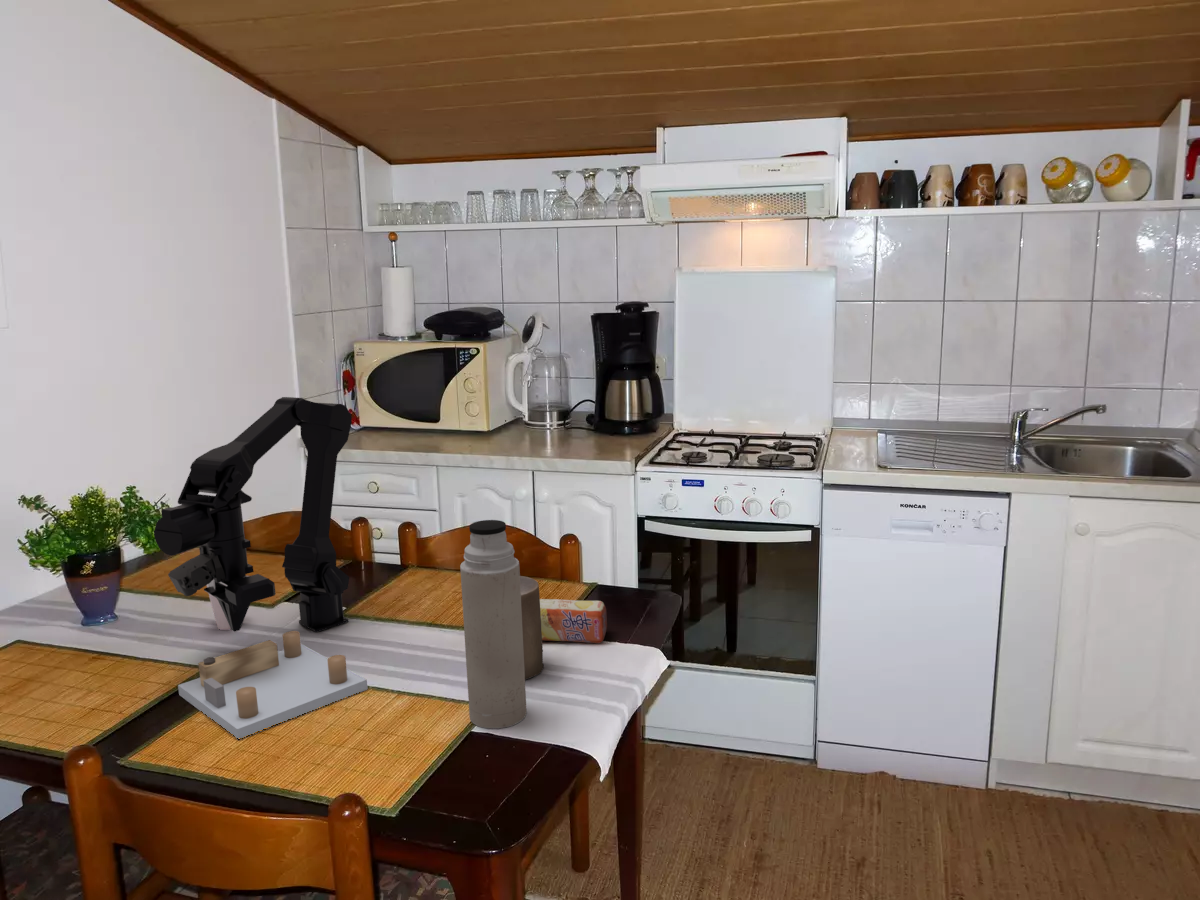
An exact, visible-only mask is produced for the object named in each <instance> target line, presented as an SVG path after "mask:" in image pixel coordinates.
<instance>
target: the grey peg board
mask: <svg viewBox="0 0 1200 900" xmlns="http://www.w3.org/2000/svg"><path fill="white" fill-rule="evenodd" d="M300 634H301V633H300V632H299V631H297V630H291V631H286V632H284V633H283V634H282V642H283V649H282V650H278V660H279V665H278V666H275V667H272V668H269V669H266V670H263V671H260V672H258V673H255V674H252V675H249V676H246V677H243V678H240V679H237V680H234V681H231V682H229V683H226V684H223V685H222V684H220V683H219V682H217V681H216V680H214V679H213V678H209V679H206V680H203V681H204V687H203V686H202V685H201V681H200V677H197V678H195V679H192V680H190V681H186V682H182V683H180V684H177V688H178V689H177V690H178V694H179V696H180V697H181V698H183V699H184V700H185V701H186V702H188V703H189V704H190V705H192V706H194V708H196V709H197V710H198V711H200V712H201V711H202V712H203V713H202V712H201V713H202V714H203V715H205V714H206V715H207V718H209V717H210V718H211V719H210V718H209V719H210V720H212V719H213V720H214V721H215V722H217V723H218V724H219V725H221V726H222V727H223V728H225V729H226V730H227V731H229V732H230V733H231V734H233V735H234V736H235V737H236V738H235V737H234V736H233V735H232V736H233V737H234V738H235V739H237V738H238V739H239V738H243V737H245V736H247V735H250V734H253V733H255V732H257V731H260V730H263V729H264V728H268V727H271V726H272V725H275V724H278V723H280V722H283V721H286V722H288V721H287V720H288V719H291V718H294V717H296V718H298V717H297V716H299V715H301V716H303V715H302V714H304V713H306V714H308V713H307V712H309V711H311V712H313V711H312V710H314V711H316V710H315V709H317V708H319V707H322V706H324V707H326V706H325V705H327V706H329V705H331V704H330V703H332V702H334V703H336V702H335V701H337V702H339V701H341V700H340V699H342V700H344V699H343V698H345V697H347V698H349V697H348V696H350V697H352V696H354V695H353V694H355V695H356V693H357V694H359V692H360V693H362V692H364V691H367V690H368V679H366V678H365V677H363V676H361V675H360V674H357V673H356V672H354V671H352V670H350V669H349V668H347V660H346V655H343V654H335V655H331V656H329V657H327V656H325V655H323V654H321V653H319V652H317V651H315V650H313V649H311V648H309V647H308V646H306V645H304V644H302V643H301V642H302V641H301V635H300ZM351 695H352V696H351ZM345 699H346V698H345ZM338 700H339V701H338ZM328 704H329V705H328ZM332 704H333V703H332ZM322 708H323V707H322ZM319 709H320V708H319ZM317 710H318V709H317ZM309 713H310V712H309ZM206 715H205V716H206ZM304 715H305V714H304ZM299 717H300V716H299ZM294 719H295V718H294ZM213 720H212V721H213ZM291 720H292V719H291ZM214 721H213V722H214ZM215 722H214V723H215ZM217 723H216V724H217ZM283 723H284V722H283ZM218 724H217V725H218ZM219 725H218V726H219ZM278 725H279V724H278ZM221 726H220V727H221ZM222 727H221V728H222ZM223 728H222V729H223ZM271 728H272V727H271ZM225 729H224V730H225ZM268 729H269V728H268ZM226 730H225V731H226ZM227 731H226V732H227ZM263 731H264V730H263ZM229 732H228V733H229ZM260 732H261V731H260ZM230 733H229V734H230ZM231 734H230V735H231ZM255 734H256V733H255ZM253 735H254V734H253ZM250 736H251V735H250ZM245 738H246V737H245ZM238 739H237V740H238ZM243 739H244V738H243Z"/></svg>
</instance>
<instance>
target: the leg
mask: <svg viewBox="0 0 1200 900" xmlns="http://www.w3.org/2000/svg"><path fill="white" fill-rule="evenodd" d="M278 651H279V650H278V644H277V643H275V642H274V641H272V640H270V639H269V640H265V641H262V642H260V643H256V644H253V645H250V646H247V647H243V648H240V649H237V650H234V651H231V652H229V653H226V654H223V655H219V656H216V657H214V656H212V657H211V656H210V657H206V658H204V659H203V661H200V662H198V672H199V678H200V681H201V685H202V686H203V687H204V681H203V680H206V679H209V678H213V679H214V680H216V681H217V682H219V683H220V684H222V685H223V684H226V683H229V682H231V681H234V680H237V679H240V678H243V677H246V676H249V675H252V674H255V673H258V672H260V671H263V670H266V669H269V668H272V667H275V666H278V665H279V660H278Z"/></svg>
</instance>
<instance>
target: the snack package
mask: <svg viewBox="0 0 1200 900" xmlns="http://www.w3.org/2000/svg"><path fill="white" fill-rule="evenodd" d="M540 612H541V632H542V641H544V642H545V641H550V642H551V641H553V642H575V643H589V644H601V643H603V641H604V639H605V636H606V632H607V629H608V622H607V608H606V605H605V603H604V602H603V601H601V600H574V599H556V598H555V599H554V598H552V599H551V598H540Z"/></svg>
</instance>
